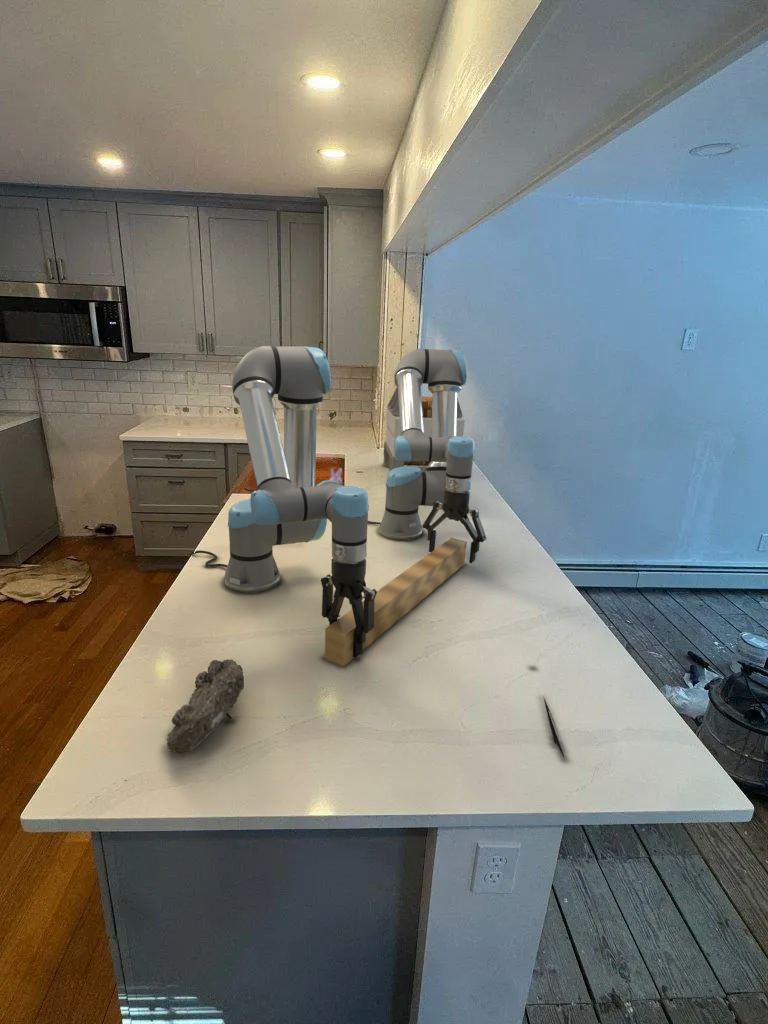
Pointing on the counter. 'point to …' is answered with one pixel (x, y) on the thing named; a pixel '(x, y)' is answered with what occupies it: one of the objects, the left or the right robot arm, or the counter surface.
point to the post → (396, 599)
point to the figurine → (336, 476)
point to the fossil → (206, 705)
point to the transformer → (394, 429)
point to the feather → (553, 727)
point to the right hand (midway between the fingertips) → (451, 556)
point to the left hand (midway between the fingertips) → (346, 650)
